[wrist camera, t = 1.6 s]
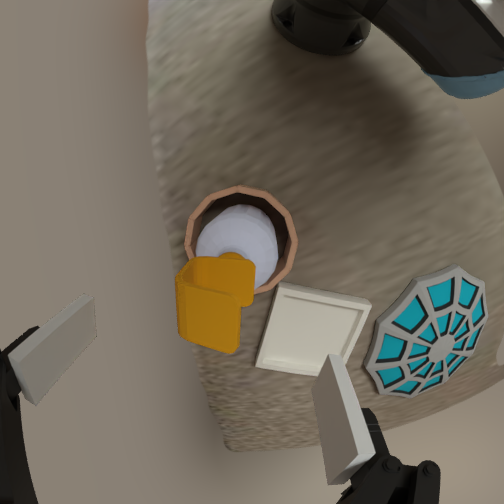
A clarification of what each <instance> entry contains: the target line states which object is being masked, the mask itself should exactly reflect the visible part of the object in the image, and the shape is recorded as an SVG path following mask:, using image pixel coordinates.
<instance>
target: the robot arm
mask: <svg viewBox="0 0 504 504" xmlns="http://www.w3.org/2000/svg"><path fill="white" fill-rule="evenodd" d="M272 16H273V21H274V24H275V26H276V28H277V29H278V30H279V32H280V33H281V34H282V35H283V36H284V37H285V38H286V39H287V40H289V41H290V42H291V43H293V44H295V45H296V46H298V47H300V48H302V49H305V50H307V51H310V52H313V53H317V54H323V55H341V54H346V53H349V52H352V51H354V50H356V49H357V48H358V47H360V46H361V45H362V43H363V42H364V41H365V40H366V38H367V37H368V35H369V32H370V28H371V23H372V24H374V25H375V26H376V27H377V28H379V29H380V30H381V31H382V32H383V33H385V34H386V35H387V36H388V37H389V38H390V39H392V40H393V41H394V42H395V43H396V44H397V45H398V46H399V47H400V48H402V49H403V50H404V51H405V52H406V53H407V54H408V55H409V56H410V57H411V58H412V59H413V60H414V61H415V62H416V63H417V64H418V65H419V66H420V67H421V70H422V71H423V72H424V73H425V74H426V75H428V76H430V77H431V78H432V79H433V80H434V81H435V82H436V84H437V85H438V86H439V87H440V88H441V89H442V90H443V91H444V92H445V93H447V94H448V95H451V96H454V97H456V98H460V99H473V98H479V97H483V96H487V95H490V94H492V93H495V92H497V91H499V90H501V89H503V88H504V0H274V2H273V9H272ZM96 337H97V336H96V323H95V308H94V297H92V296H89V295H86V294H82V295H81V296H80V297H78V298H77V299H76V300H75V301H73V302H72V303H71V304H69V305H68V306H67V307H65V308H64V309H63V310H61V311H60V312H59V313H58V314H56V315H55V316H54V317H52V318H51V319H50V320H49V321H47V322H46V323H45V324H44V325H43V326H41V327H38V326H36V327H33V328H30V329H28V330H27V331H26V332H25V333H23V335H21V336H20V337H19V338H18V339H16V340H15V341H14V342H13V343H11V344H10V345H9V346H8V347H7V348H5V349H4V350H3V351H2V352H1V350H0V504H38V501H37V498H36V494H35V491H34V487H33V483H32V479H31V475H30V471H29V467H28V462H27V457H26V451H25V445H24V439H23V431H22V422H21V411H20V398H19V395H18V394H19V393H20V392H21V391H22V393H23V395H24V397H25V399H26V400H28V401H30V402H31V403H32V404H34V405H35V406H37V404H38V403H39V402H40V401H41V400H42V398H43V397H44V396H45V395H46V393H47V392H48V391H49V390H50V389H51V388H52V386H53V385H54V384H55V383H56V382H57V381H58V379H59V378H60V377H61V376H62V375H63V374H64V372H65V371H66V370H67V369H68V368H69V367H70V366H71V364H72V363H73V362H74V361H75V360H76V359H77V358H78V357H79V355H80V354H81V353H82V352H83V351H84V350H85V349H86V348H87V346H88V345H89V344H90V343H91V342H92V341H93V340H94V339H95V338H96ZM311 390H312V395H313V401H314V406H315V411H316V417H317V423H318V428H319V434H320V440H321V446H322V451H323V457H324V464H325V470H326V476H327V483H328V485H338V484H344V483H345V482H347V481H348V480H349V479H350V480H351V486H350V487H348V488H347V489H346V490H345V491H343V492H342V493H341V494H342V497H341V498H340V499H339V501H338V502H337V503H336V504H439V493H440V468H439V467H438V465H437V464H436V463H435V462H433V461H430V460H429V461H428V460H426V461H423V462H421V463H420V464H419V465H418V466H409V465H403V464H402V463H401V462H400V460H399V459H398V458H396V457H395V456H391V455H390V453H389V451H388V448H387V445H386V443H385V440H384V437H383V435H382V432H381V429H380V426H379V425H378V421H377V419H376V416H375V415H374V413H373V412H372V411H371V410H370V409H369V408H360V405H359V402H358V400H357V397H356V394H355V391H354V388H353V386H352V383H351V380H350V378H349V375H348V372H347V370H346V367H345V364H344V362H343V359H342V357H341V355H335V354H328V355H327V357H326V360H325V362H324V364H323V366H322V368H321V371H320V373H319V375H318V377H317V379H316V381H315V383H314V385H313V387H312V389H311Z"/></svg>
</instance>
